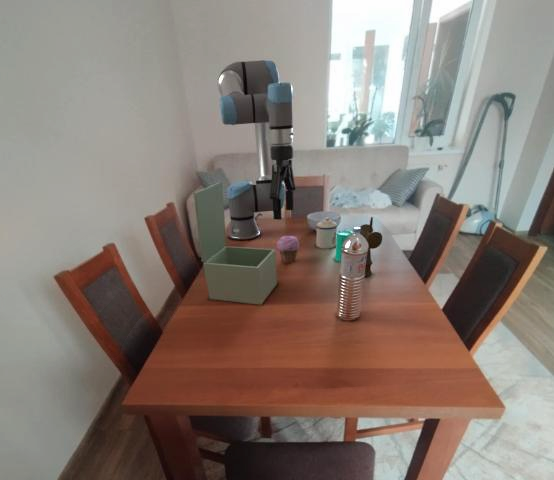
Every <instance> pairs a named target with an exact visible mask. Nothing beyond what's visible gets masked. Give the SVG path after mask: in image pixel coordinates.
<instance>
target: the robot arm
mask: <svg viewBox="0 0 554 480" xmlns="http://www.w3.org/2000/svg"><path fill="white" fill-rule="evenodd" d="M217 87H218V92H219V94H220V97H219V108H220V117H221V122H222V124H224V125H225V126H226V125H227V126H235V125H236V126H237V125H249V124H254V135H255V146H256V159H257V171H258V175H257V177H256V179H255V184H253V183H252V181H251V180H247V181H246V180H245V181H239V182H236V183H233V184H231V185H229V186H228V187H227V191H226V192H227V200H228V207H229V208H228V209H229V216H230V223H229V229H228V238H229V239H231V240H233V241H249V240H250V241H251V240H253V239H257V238H259V237H260V234H261V233H260V229H259V226H258V222H257V221H256V220H257V219H258V218H259V217H260V216H261V217H262V216H263V214H262V213H263V212H272V214H273V220H277V221H278V220H279V221H281V220H283V219H282V209H283V207H284V205H285V210H286V211H294V191H296V182H295V176H294V171H293V160H292V159H293V158H294V146H293V145H292V144H293V143H294V136H295V132H294V128H293V127H294V126H293V120H294V119H293V118H294V116H293V113H294V111H293V106H294V105H293V102H294V101H293V100H294V95H293V86H292V84H291V83H290V82H280V75H279V71H278V67H277V65H276V63H275V61H273V60H265V59H262V60H249V61H248V60H246V61H235V62H232V63H230V64H228V65H226V66H225V67H224V68H223V69H222V71H220V74H219V76H218V79H217ZM256 213H258V214H257V215H256V216H255V214H256Z"/></svg>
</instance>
